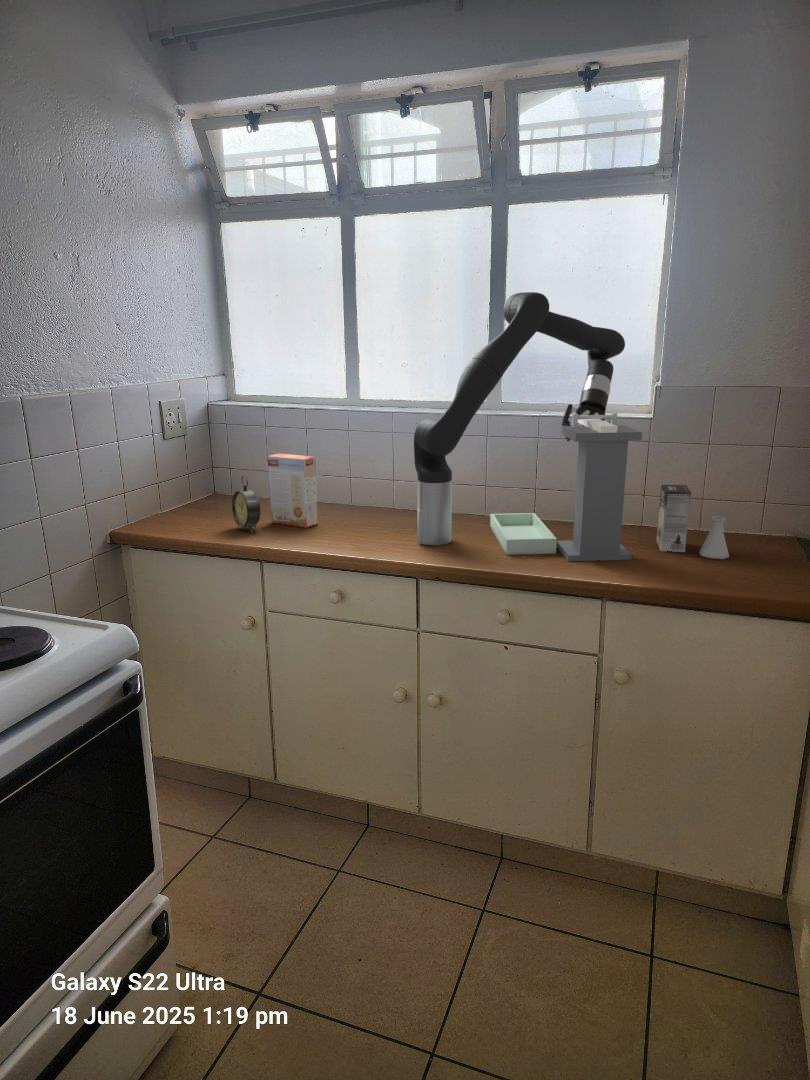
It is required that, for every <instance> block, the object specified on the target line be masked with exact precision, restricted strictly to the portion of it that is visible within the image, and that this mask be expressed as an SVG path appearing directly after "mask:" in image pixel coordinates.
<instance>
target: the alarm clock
mask: <svg viewBox="0 0 810 1080" xmlns="http://www.w3.org/2000/svg"><path fill="white" fill-rule="evenodd" d="M244 478H245V480H246V484H245V483H244V482H243V480H244ZM241 483H242V484H241V485H243V489H242V490H236V491H235V492H234V494H233V496H232V500H231V510H232V516H233V519H234V521H235V524H236V525H237V527H238V528H239V527H240V528H241V529H244V528H245V529H246V528H249V531H250V533H251V534H253V533H254V531H253V528H255V529H257V527H256V526H257V524H258V523H259V521H260V519H261V504H260V500H259V498H258V495H257V494H256V493H255V492H254V491H253V490H251V489H247V487H248V484H249V481H248V478H247V476H245V475H242V476H241ZM240 528H239V529H240Z"/></svg>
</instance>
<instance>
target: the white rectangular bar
mask: <svg viewBox="0 0 810 1080" xmlns="http://www.w3.org/2000/svg"><path fill="white" fill-rule="evenodd" d="M578 423H580V424H579V425H581V424H582V425H584V426H586V427H589V428H591V429H593V430H595V431H598V432H600V433H617V430H618V426H616V425H613V424H611V423H608V422H606V421H603V420H600V419H578ZM582 425H581V426H582Z"/></svg>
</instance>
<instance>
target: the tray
mask: <svg viewBox="0 0 810 1080" xmlns="http://www.w3.org/2000/svg"><path fill="white" fill-rule="evenodd" d="M489 517H490V523H489V524H490V527H491V528H490V529H491V531H492V532H493V534H494V536H495V538H496V539H497V541H498V543H499V545H500V546H501V548H502V550H503V552H504V553H505V555H507V556H508V555H544V554H545V555H547V554H549V555H551V554H552V555H554V554H557V547H556V544H557V541H558V540H557V537H556V536H555V535H554V533H553V532H552V531H551V530H550V529H549V528H548V527H547V526H546V525H545V523H544V522H543V521H542V520H541V519H540V518H539V516H537V514H536V513H535V512H527V513H526V512H523V513H521V512H520V513H519V512H518V513H517V512H516V513H490V516H489Z"/></svg>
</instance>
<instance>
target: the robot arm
mask: <svg viewBox="0 0 810 1080" xmlns="http://www.w3.org/2000/svg"><path fill="white" fill-rule="evenodd" d="M502 312H503V317H504V320H505V321H506V323H507V324H508V325H507V326H506V327H505V329H504V330H503V331H502V332H501V333H500V334H499V335H498V336H496V337H495V338H494V339H492V340H491V341H489V342H488V343H487V344H486V345H484V346H483V347H482V348H481V349H480V350H478V351H477V353H476V354H475V355H474V356H473V357H472V359H470V361H469V362H468V363H467V365H466V367H465V368H464V369H463V371H462V372H461V375H460V377H459V381H458V383H457V387H456V392H455V395H454V398H453V399H452V402H451V403H450V405H449V406H448V408H447V409H446V411H444V413H443V414H442V415H441V417H440V418H439V419H434V418H433V419H432V418H428V419H424V420H422V421H421V422H419V423H418V424H417V426H416V428H415V429H414V430H415V431H414V435H413V452H414V453H413V455H414V466H415V467H414V468H415V470H416V473H417V474H416V475H417V506H416V507H417V512H416V513H417V519H416V520H417V542H418V545H425V546H426V545H427V546H444V545H448V544H450V543H451V542H452V527H453V526H452V521H453V520H452V519H453V518H452V517H453V515H452V513H453V512H452V511H453V510H452V509H453V508H452V507H453V505H452V504H453V503H452V501H453V499H452V497H453V489H452V488H453V470H452V469H451V467H450V466H449V465H448V462H447V458H446V456H448V455H449V454H451V453H452V452H453V451H454V449H455V448H456V447H457V445H458V444H459V441H460V440H461V439H462V436H463V435H464V433H465V431H466V429H467V427H468V426H469V424H470V422H471V421H472V419H473V418H474V416H475V415H476V414H477V412H478V411H479V409H480V408H481V406H482V405H483V404H484V402H485V400H486V399H487V398H488V396H490V394H491V393H492V391H493V390H494V389H495V387H496V386H497V385H498V383H499V382H500V380H501V379H502V377H503V375H504V374H505V372H506V371H507V370H508V369H509V367H510V365H512V363H513V362H514V360H515V359H516V358H517V356H518V355H519V354H520V352H521V351H522V349H523V348H524V346H525V345H527V343H529V341H530V340H531V338H532V337H533V336H534V335H535V334H536V333H537V332H538V333H540V334H543V335H546V336H548V337H551V338H553V339H556V340H558V341H560V342H563V343H565V344H567V345H569V346H571V347H574V348H576V349H578V350H581V351H586V352H587V354H586V355H587V365H588V366H587V367H588V369H587V373H586V378H585V381H584V383H583V385H582V389H581V394H580V398H579V404H578V407H575V406H573V404H572V403H570V404H568V405H567V407H566V409H565V412H564V415H563V418H562V422H561V427H562V426H572V421H569V418H570V416H572V414H578V415H606V410H607V405H608V402H609V396H610V392H611V383H612V379H613V374H614V365H613V363H612V362H611V361H609V359H611V358H614V357H617V356H619V355H620V354H621V353H623V352H624V350H625V347H626V342H625V338H624V336H622V334H621V333H620V332H618V331H617V330H614V329H611V328H606V327H600V326H592V325H591V324H589V323H586V322H584V321H582V320H580V319H577V318H574V317H570V316H567V315H564V314H559V313H556V312H553V311H550V302H549V299H548V297H547V296H546V295H545V294H543V293H540V292H535V291H534V292H532V291H531V292H530V291H529V292H527V291H526V292H518V293H514V294H512V295H510V296H509V297H508V298H507V299H506V300H505V302H504V305H503V311H502ZM600 420H603V421H605V422H608V423H611V419H600ZM578 426H584V425H582V424H580V423H578ZM564 437H565V440H566V441H567V442H570V441H571V439H569V438H568V437H566V436H564Z"/></svg>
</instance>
